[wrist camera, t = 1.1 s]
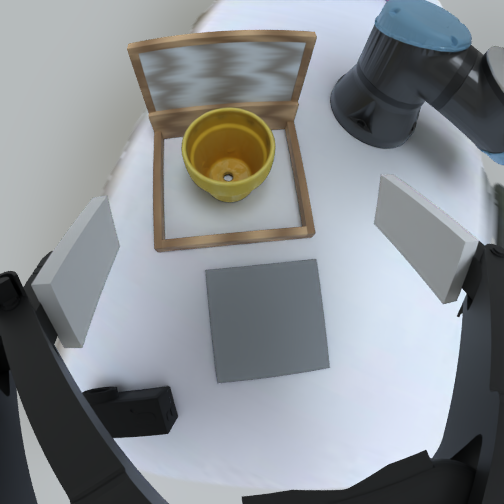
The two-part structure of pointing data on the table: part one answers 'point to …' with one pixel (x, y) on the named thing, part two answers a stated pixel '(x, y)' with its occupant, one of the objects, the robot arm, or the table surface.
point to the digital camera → (133, 410)
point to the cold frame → (224, 104)
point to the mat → (267, 320)
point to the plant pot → (228, 152)
